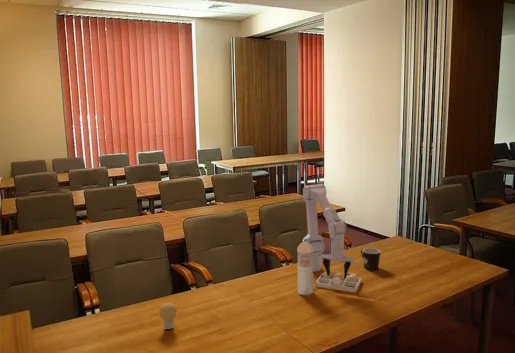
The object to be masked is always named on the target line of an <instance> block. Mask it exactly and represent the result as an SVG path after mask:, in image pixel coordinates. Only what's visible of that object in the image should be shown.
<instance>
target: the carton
mask: <svg viewBox="0 0 515 353" xmlns="http://www.w3.org/2000/svg"><path fill="white" fill-rule="evenodd" d="M336 277H337V278H340V279H341V281H342V285H341V286H340V285H333V284H332V280H333V279H334V278H336ZM361 282H362V277H358V276H357V274H356V275H353V274H352V275H347V277H346V279H345V278H344V273H342V272H337V273H332V272H331V271H330V275H329V276H327V272H326V270H325V271H324V272H322V273H321V274H320V275H319V277H318V278H317V279H316V281H315V286H314V287H316V288H322V289H323V288H324V289H328V290H334V291H335V290H337V291H341V292H343V291H344V292H348V293H354V294H356V293H357V291H358V290H359V287H360V285H361V284H362V283H361Z"/></svg>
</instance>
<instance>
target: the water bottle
mask: <svg viewBox="0 0 515 353" xmlns="http://www.w3.org/2000/svg"><path fill="white" fill-rule="evenodd" d="M296 249H297V250H296V251H297V266H296V267H297V293H298V295H300V296H303V297H305V296H306V297H307V296H311V295H312V294H313V293H314V271H313V247H312V246H311V244H309V243H308V242H307V238H304V237H303V238H302V242H300V243H299V245H298V246H297V248H296Z"/></svg>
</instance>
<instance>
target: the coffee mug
mask: <svg viewBox="0 0 515 353" xmlns="http://www.w3.org/2000/svg"><path fill="white" fill-rule="evenodd" d="M381 252H382V251H381V250H380V249H379V248H374V247H365V248H363V249H361V250H360V254H361V257H362V258H363V268H364V269H365V270H366V271H377V270H378V269H379V263H380V258H381V257H380V256H381Z"/></svg>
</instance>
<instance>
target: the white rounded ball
mask: <svg viewBox="0 0 515 353" xmlns="http://www.w3.org/2000/svg"><path fill="white" fill-rule="evenodd" d="M332 284H333V285H340V286H342V281H341V279H340V278H337V277H336V278H334V279H333V280H332Z"/></svg>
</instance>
